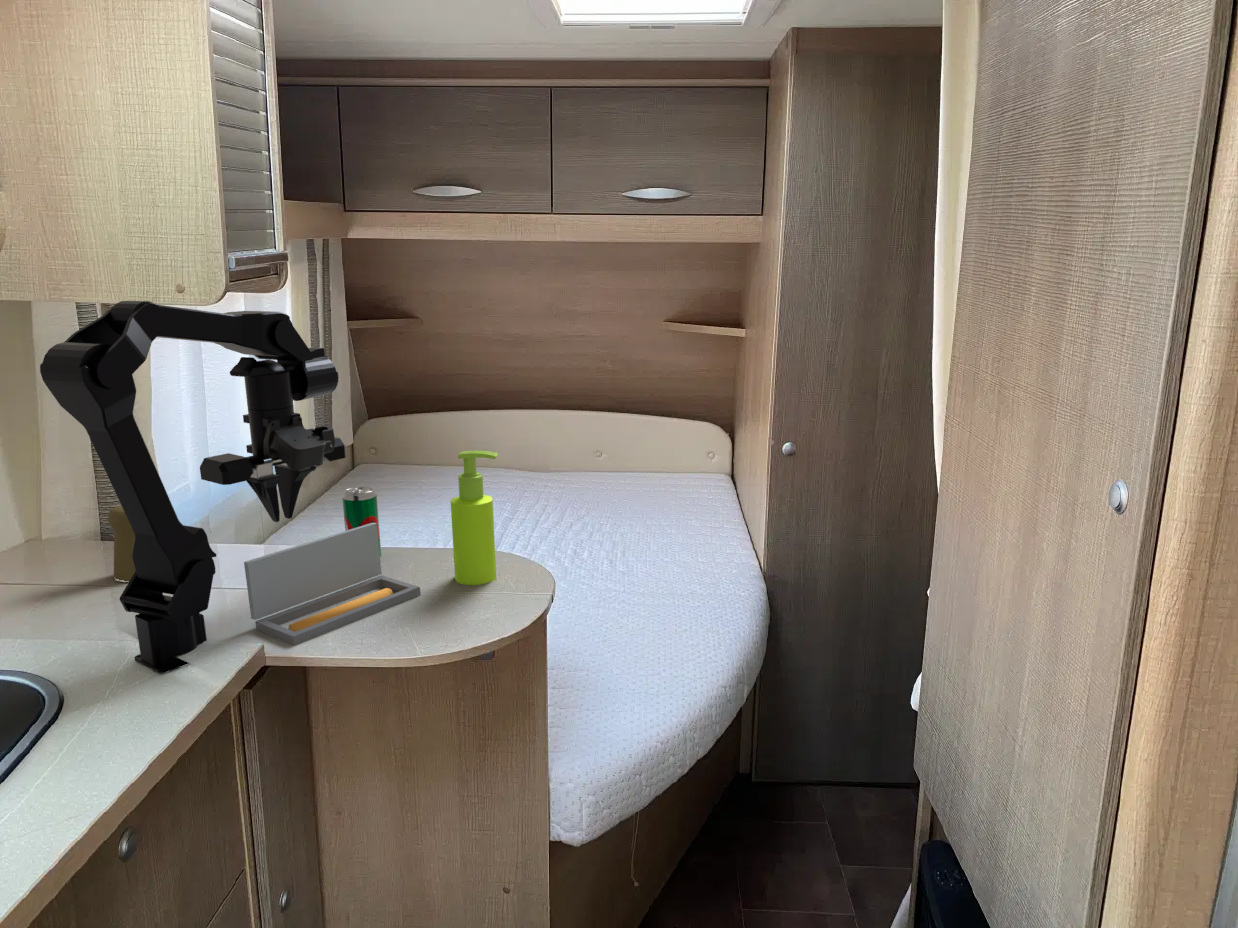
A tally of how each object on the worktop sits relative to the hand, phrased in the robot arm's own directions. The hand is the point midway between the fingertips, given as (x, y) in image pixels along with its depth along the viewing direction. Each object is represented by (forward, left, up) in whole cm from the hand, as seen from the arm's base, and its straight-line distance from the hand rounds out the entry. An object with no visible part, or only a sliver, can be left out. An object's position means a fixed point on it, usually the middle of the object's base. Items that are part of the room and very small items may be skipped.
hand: (282, 519), depth 127 cm
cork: (-7, +29, -12) cm, 32 cm away
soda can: (+16, +4, -12) cm, 21 cm away
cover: (0, -7, -6) cm, 9 cm away
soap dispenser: (+19, -17, -12) cm, 29 cm away
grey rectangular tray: (0, -11, -12) cm, 17 cm away
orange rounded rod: (0, -11, -11) cm, 16 cm away
